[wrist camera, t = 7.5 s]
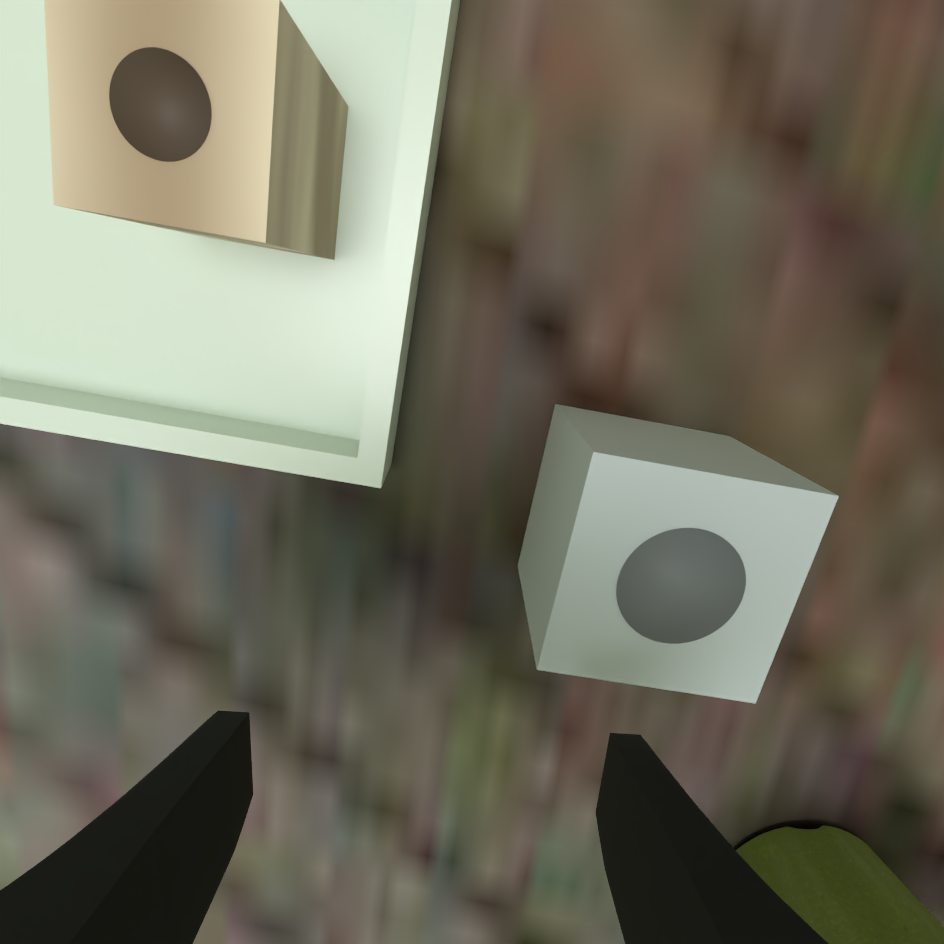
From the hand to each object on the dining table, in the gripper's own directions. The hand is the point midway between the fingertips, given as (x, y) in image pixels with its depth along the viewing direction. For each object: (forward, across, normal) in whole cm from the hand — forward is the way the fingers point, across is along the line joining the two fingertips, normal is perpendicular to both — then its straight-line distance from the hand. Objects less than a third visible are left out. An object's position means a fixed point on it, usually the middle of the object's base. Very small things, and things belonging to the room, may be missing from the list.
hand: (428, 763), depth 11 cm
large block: (+10, -6, -2) cm, 11 cm away
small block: (+9, +6, -12) cm, 16 cm away
